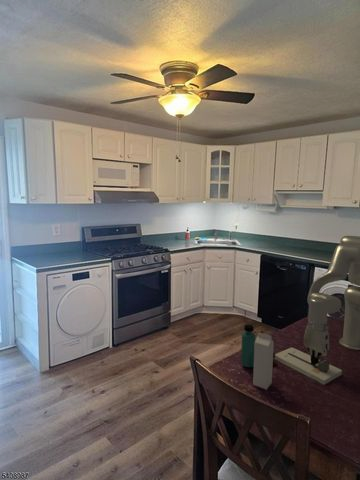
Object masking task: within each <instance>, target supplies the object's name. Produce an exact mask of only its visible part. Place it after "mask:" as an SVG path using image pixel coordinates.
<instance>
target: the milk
mask: <svg viewBox="0 0 360 480" xmlns="http://www.w3.org/2000/svg"><path fill="white" fill-rule="evenodd" d="M274 343H275V341H274V340H273V339H272V335H269V334H265V333H262V332H257V336H256V339H255V345H254V366H253V370H252V371H253V373H252V385H253V386H256V387H258V388H261V389H264V390H266V391H267V390H268V389H269V387H270V386H271V385H272V383H273V382H272V381H273V361H274V358H273V357H274V356H273V353H274Z"/></svg>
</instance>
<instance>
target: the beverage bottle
mask: <svg viewBox="0 0 360 480" xmlns="http://www.w3.org/2000/svg"><path fill="white" fill-rule="evenodd" d="M243 330H244V331H243V332H242V333H241V348H240V349H241V352H240V353H241V354H240V355H241V357H240V363H241V365H242V367H243V366H244V367H246V368H254V345H255V340H256V338H257V336H256V334H255V333H254V325H252V324H250V323H248V324H245V325H244V328H243Z"/></svg>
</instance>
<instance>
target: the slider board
mask: <svg viewBox="0 0 360 480" xmlns="http://www.w3.org/2000/svg"><path fill="white" fill-rule="evenodd" d="M274 354H275V355H274V356H275V357H274V356H273V357H274V358H273V360H275V361H278V362H279V363H282V364H283V365H284V366H287V367H289V368H291V369H292V370H295V371H296V372H299V373H300V374H303V375H304V376H306V377H308V378H310V379H312V380H314V381H315V382H318V383H320V384H321V385H324V386H325V385H327V384H329V383H330V382H331V381H333V380H335V379H336V378H338V377H340V376H342V375H343V370H342V369H340V368H338V367H336V366H334V365H332V364H330V363H329V370H327V371H325V372H323V371H321V370H319V369H318V364H316V365H313V364H311V355H310V354H308V353H305V352H303V351H301V350H298V349H296V348H294V347H289V348H287V349H285V350H281V351H280V352H277V353H274ZM320 360H321V359H319V361H320Z"/></svg>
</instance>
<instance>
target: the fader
mask: <svg viewBox="0 0 360 480" xmlns="http://www.w3.org/2000/svg"><path fill="white" fill-rule="evenodd" d="M319 360H320V361H318V369H319V370H321V371H323V372H325V371H327V370H329V364H330V361H329V360H327V359H324V358H322V359H319Z"/></svg>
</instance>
